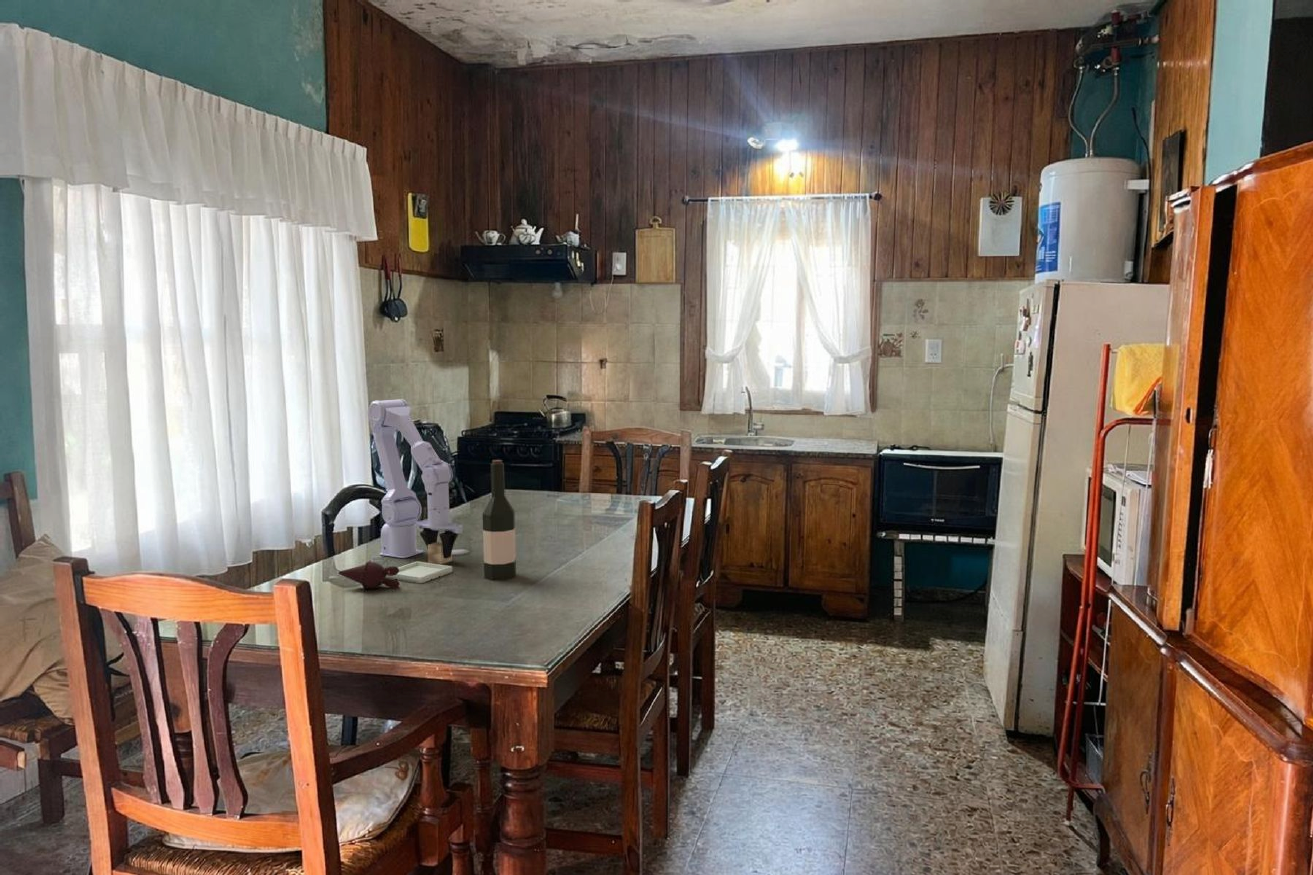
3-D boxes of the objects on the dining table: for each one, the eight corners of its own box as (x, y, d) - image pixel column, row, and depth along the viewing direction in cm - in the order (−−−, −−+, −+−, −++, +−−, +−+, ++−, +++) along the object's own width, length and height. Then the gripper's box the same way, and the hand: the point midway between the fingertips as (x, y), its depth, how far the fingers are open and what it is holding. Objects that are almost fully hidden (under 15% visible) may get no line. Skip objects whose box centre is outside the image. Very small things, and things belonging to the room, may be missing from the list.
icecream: (331, 567, 206) (393, 572, 206) (343, 552, 213) (403, 557, 213) (333, 592, 208) (394, 598, 208) (345, 577, 215) (404, 582, 215)
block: (428, 562, 235) (427, 544, 234) (439, 559, 239) (438, 541, 238) (441, 564, 233) (440, 546, 232) (452, 560, 237) (451, 543, 236)
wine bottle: (522, 573, 223) (519, 459, 220) (506, 581, 216) (503, 463, 212) (494, 570, 226) (491, 457, 223) (477, 579, 218) (474, 462, 215)
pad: (442, 554, 244) (442, 553, 244) (456, 549, 250) (456, 548, 250) (459, 556, 242) (459, 555, 242) (473, 551, 247) (473, 550, 247)
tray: (384, 577, 220) (384, 572, 220) (416, 566, 231) (416, 561, 230) (420, 583, 215) (420, 577, 214) (452, 571, 225) (452, 566, 225)
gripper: (469, 507, 235) (470, 556, 236) (427, 503, 241) (429, 550, 243) (452, 512, 228) (453, 562, 230) (410, 507, 235) (411, 556, 236)
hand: (440, 556), depth 236 cm, fingers closed on block, 4 cm apart
